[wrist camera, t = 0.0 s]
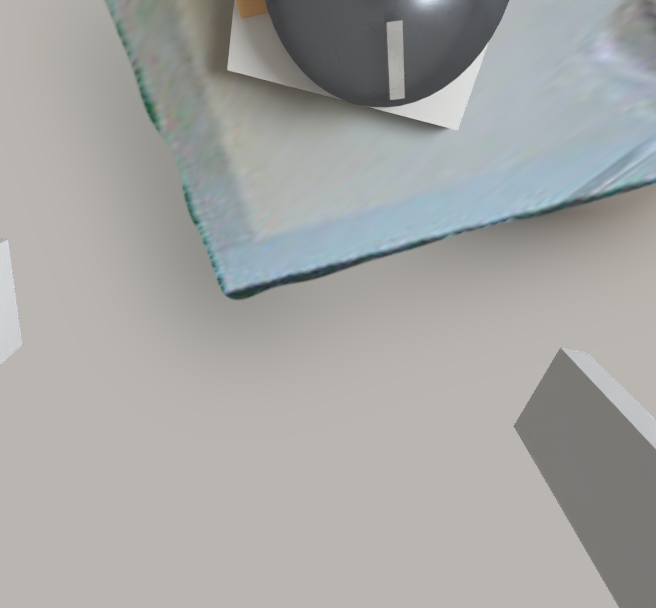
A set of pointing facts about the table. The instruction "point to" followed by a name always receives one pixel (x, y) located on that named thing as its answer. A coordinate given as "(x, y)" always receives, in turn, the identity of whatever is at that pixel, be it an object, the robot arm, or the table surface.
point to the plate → (277, 66)
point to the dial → (384, 44)
